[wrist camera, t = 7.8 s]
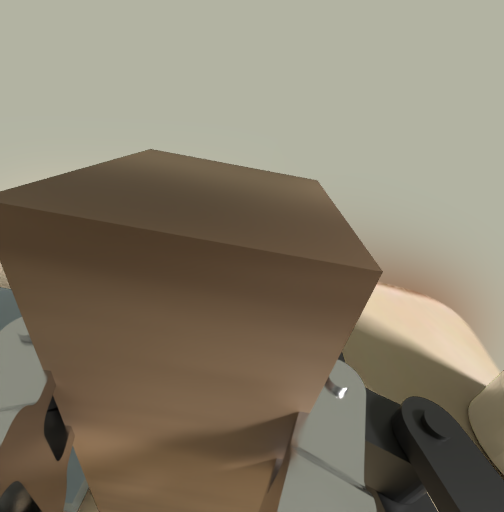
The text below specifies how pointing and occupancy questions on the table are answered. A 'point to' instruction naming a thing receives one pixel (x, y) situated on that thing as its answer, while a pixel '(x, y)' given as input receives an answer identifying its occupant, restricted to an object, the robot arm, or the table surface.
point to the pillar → (182, 319)
